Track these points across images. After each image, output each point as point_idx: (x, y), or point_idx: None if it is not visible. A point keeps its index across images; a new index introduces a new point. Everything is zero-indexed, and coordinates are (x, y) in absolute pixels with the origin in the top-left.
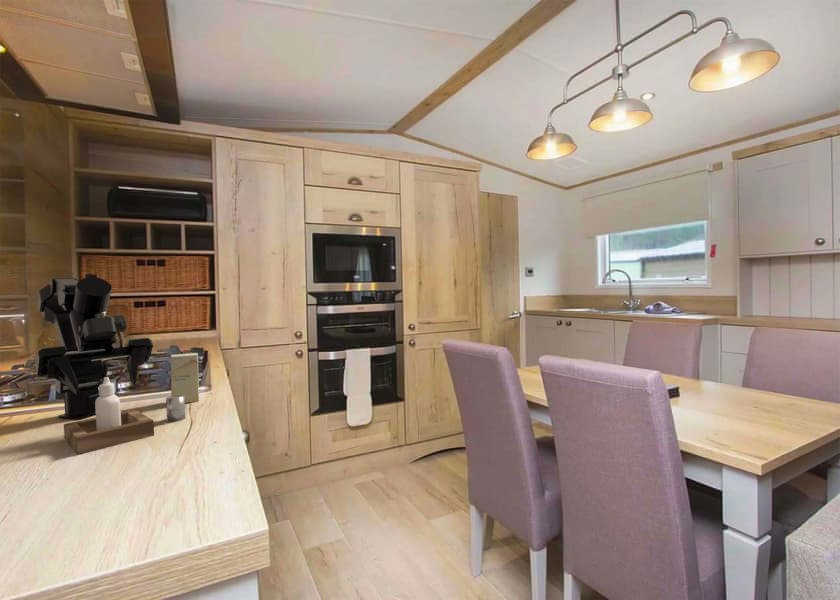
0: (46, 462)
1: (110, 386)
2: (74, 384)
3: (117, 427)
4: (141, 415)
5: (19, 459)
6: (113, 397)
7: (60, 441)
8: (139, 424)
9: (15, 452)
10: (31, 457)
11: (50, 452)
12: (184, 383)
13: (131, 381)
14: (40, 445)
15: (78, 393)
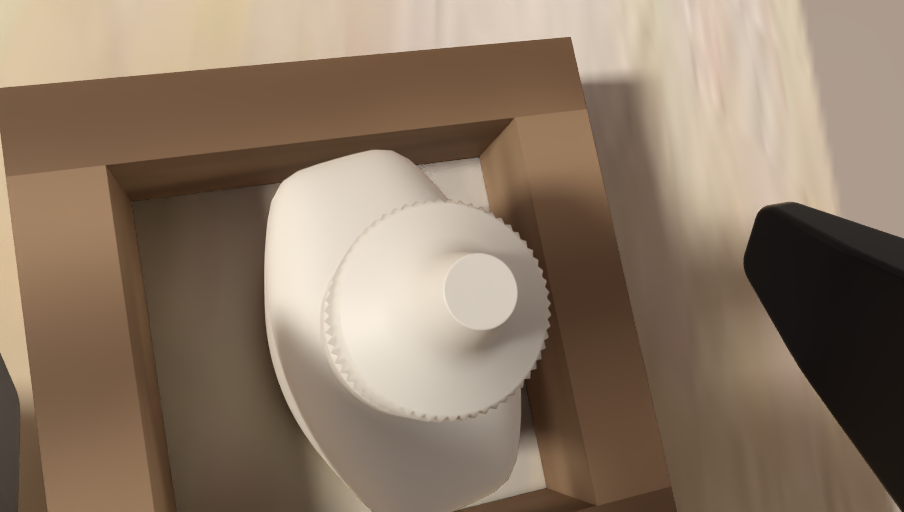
0: (669, 83)
1: (391, 212)
2: (893, 248)
3: (307, 101)
4: (60, 375)
5: None
6: (340, 216)
7: None
8: (131, 80)
9: None
10: None
11: (672, 270)
12: None
13: (12, 492)
14: (745, 492)
15: (754, 241)
